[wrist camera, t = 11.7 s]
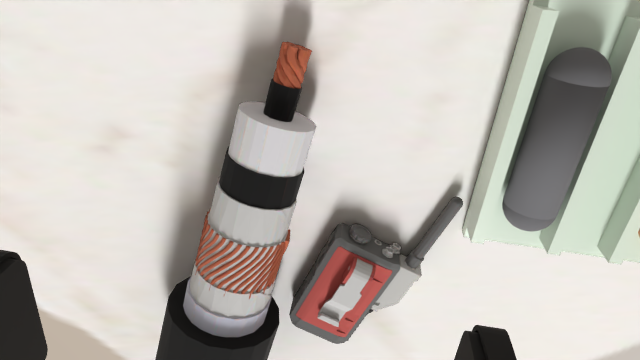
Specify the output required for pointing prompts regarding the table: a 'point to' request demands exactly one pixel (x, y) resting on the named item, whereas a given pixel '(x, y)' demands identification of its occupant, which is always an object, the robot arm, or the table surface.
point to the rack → (601, 148)
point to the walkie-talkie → (359, 278)
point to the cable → (245, 230)
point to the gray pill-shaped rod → (556, 137)
